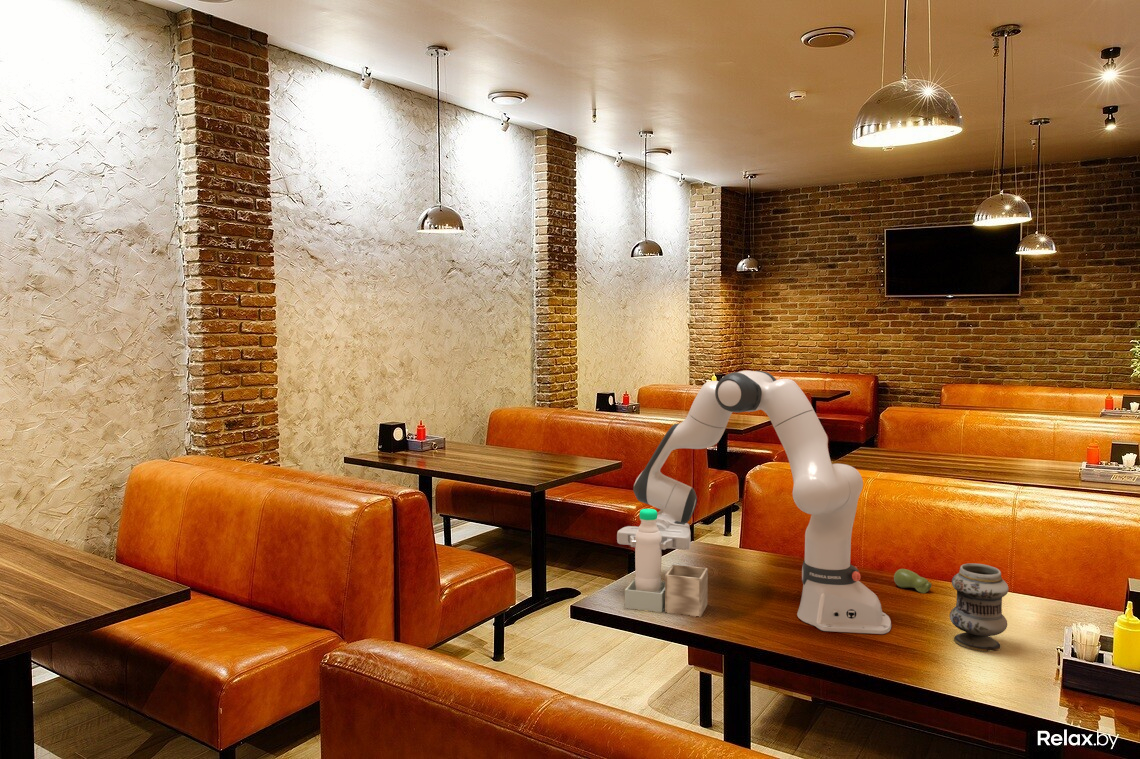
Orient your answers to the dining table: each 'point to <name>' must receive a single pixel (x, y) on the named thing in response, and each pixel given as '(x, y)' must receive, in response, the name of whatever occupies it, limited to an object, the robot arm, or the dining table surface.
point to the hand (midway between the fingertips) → (647, 545)
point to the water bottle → (648, 553)
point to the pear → (911, 580)
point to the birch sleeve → (686, 590)
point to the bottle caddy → (644, 598)
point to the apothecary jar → (979, 606)
